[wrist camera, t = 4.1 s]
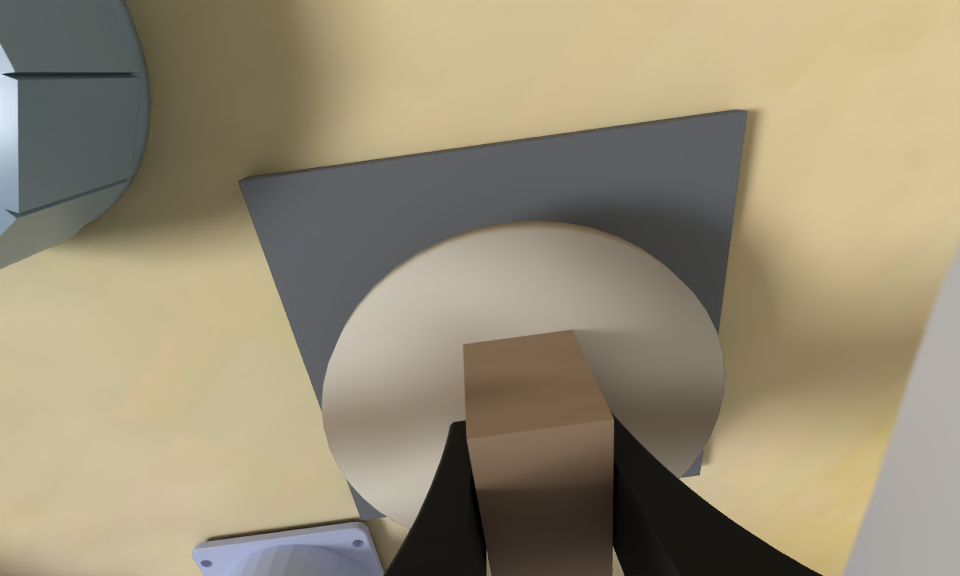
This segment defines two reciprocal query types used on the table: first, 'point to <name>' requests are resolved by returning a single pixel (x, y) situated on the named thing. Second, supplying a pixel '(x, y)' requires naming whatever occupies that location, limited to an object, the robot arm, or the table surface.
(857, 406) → the table surface
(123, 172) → the bowl
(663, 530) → the robot arm
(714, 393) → the lid
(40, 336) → the table surface
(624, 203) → the mat
